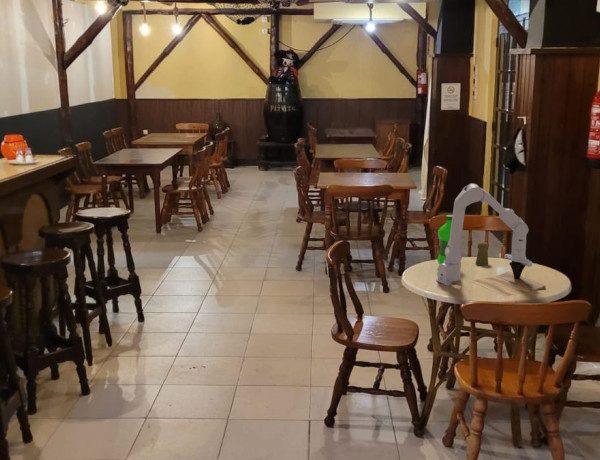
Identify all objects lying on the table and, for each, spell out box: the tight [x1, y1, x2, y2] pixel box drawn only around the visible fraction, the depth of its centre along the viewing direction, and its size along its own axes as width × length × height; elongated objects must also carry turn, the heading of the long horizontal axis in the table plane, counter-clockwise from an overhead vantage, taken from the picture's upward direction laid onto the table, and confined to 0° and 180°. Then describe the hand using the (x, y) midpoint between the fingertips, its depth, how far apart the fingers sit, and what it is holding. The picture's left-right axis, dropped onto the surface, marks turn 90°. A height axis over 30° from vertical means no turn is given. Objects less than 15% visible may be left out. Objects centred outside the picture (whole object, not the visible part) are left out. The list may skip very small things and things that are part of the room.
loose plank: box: [495, 271, 546, 292], centre depth 289 cm, size 7×22×2 cm, turn 25°
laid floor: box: [470, 276, 531, 297], centre depth 284 cm, size 14×22×2 cm, turn 26°
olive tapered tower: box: [475, 241, 490, 267], centre depth 318 cm, size 6×6×11 cm
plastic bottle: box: [437, 214, 453, 266], centre depth 312 cm, size 10×10×25 cm
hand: (516, 278), depth 291 cm, fingers closed, pressing on loose plank
